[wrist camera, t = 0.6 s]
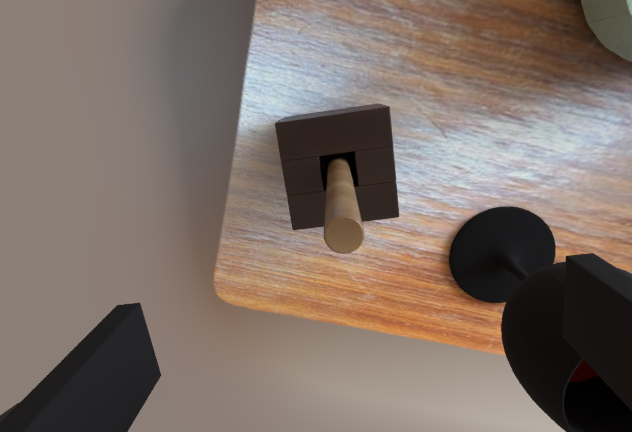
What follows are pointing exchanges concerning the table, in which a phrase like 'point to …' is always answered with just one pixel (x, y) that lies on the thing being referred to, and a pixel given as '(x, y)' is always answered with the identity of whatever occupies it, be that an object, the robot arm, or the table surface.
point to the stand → (333, 138)
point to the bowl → (611, 24)
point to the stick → (341, 208)
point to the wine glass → (534, 316)
